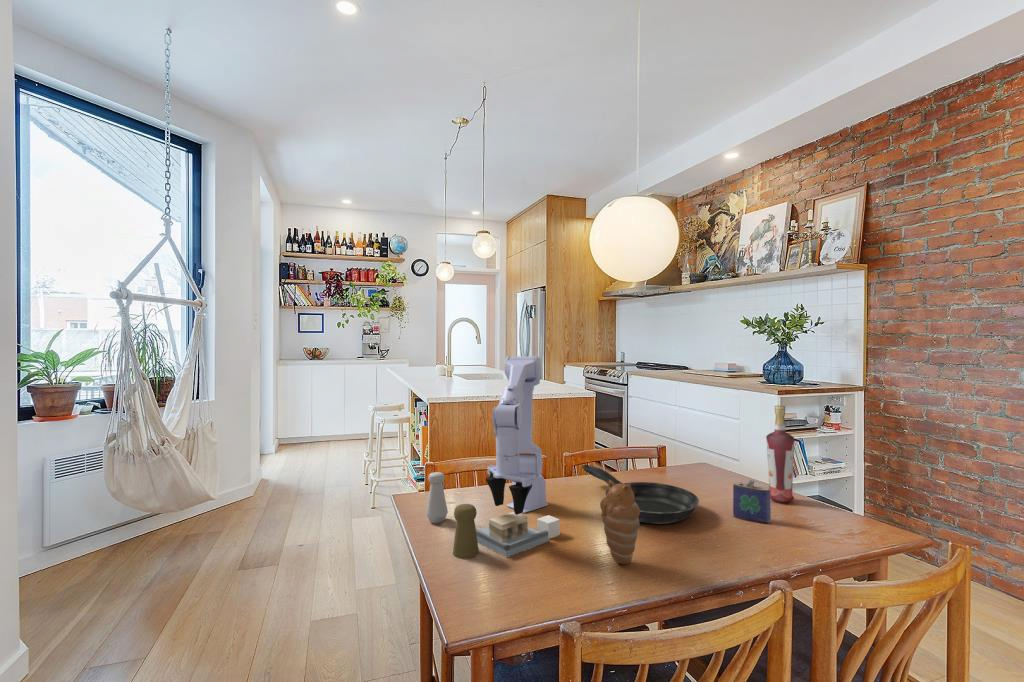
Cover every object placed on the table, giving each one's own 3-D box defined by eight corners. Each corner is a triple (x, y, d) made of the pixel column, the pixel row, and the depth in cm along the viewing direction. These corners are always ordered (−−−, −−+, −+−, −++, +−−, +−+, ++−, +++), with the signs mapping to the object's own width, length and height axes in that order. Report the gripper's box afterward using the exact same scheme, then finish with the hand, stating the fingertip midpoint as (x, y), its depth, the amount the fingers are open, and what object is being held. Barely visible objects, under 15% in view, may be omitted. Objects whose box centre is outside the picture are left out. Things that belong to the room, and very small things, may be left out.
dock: (511, 525, 131) (511, 515, 131) (548, 541, 121) (548, 531, 121) (471, 538, 123) (470, 528, 123) (506, 557, 112) (506, 546, 112)
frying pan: (719, 519, 133) (719, 494, 133) (647, 538, 122) (646, 510, 122) (616, 478, 173) (616, 459, 172) (554, 489, 161) (554, 468, 161)
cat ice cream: (594, 563, 109) (593, 481, 108) (613, 551, 114) (612, 473, 114) (631, 576, 103) (630, 489, 102) (649, 563, 109) (648, 481, 108)
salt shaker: (443, 525, 132) (442, 476, 132) (423, 524, 133) (422, 475, 133) (450, 517, 138) (449, 470, 137) (431, 516, 139) (430, 469, 139)
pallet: (514, 527, 126) (514, 511, 126) (527, 532, 122) (527, 516, 122) (489, 535, 121) (489, 519, 121) (502, 542, 117) (501, 525, 117)
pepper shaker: (468, 560, 111) (467, 511, 111) (447, 554, 114) (446, 507, 114) (484, 550, 116) (483, 503, 116) (463, 545, 119) (462, 499, 119)
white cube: (548, 530, 128) (548, 515, 128) (559, 535, 125) (559, 519, 125) (537, 534, 125) (537, 519, 125) (548, 539, 122) (548, 523, 122)
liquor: (794, 506, 142) (794, 408, 141) (766, 502, 145) (765, 407, 145) (795, 499, 148) (794, 405, 148) (767, 495, 152) (766, 403, 151)
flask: (771, 522, 131) (771, 481, 131) (769, 525, 128) (768, 484, 128) (734, 514, 137) (734, 475, 136) (731, 517, 134) (731, 478, 134)
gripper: (477, 451, 125) (478, 505, 125) (514, 462, 113) (515, 521, 114) (499, 446, 129) (500, 498, 129) (537, 457, 118) (538, 513, 118)
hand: (508, 509), depth 122 cm, fingers open, 7 cm apart
